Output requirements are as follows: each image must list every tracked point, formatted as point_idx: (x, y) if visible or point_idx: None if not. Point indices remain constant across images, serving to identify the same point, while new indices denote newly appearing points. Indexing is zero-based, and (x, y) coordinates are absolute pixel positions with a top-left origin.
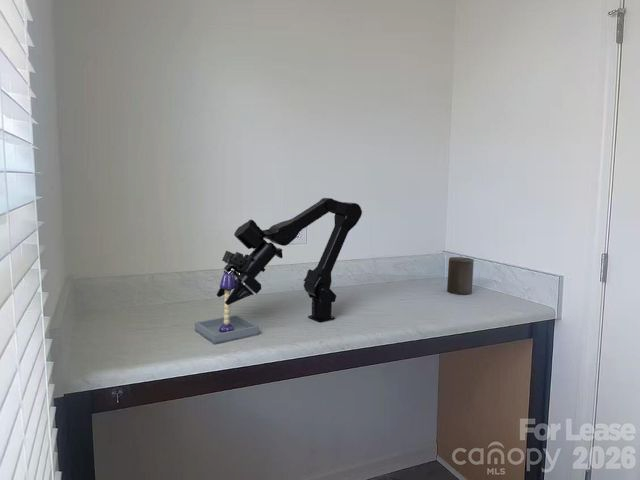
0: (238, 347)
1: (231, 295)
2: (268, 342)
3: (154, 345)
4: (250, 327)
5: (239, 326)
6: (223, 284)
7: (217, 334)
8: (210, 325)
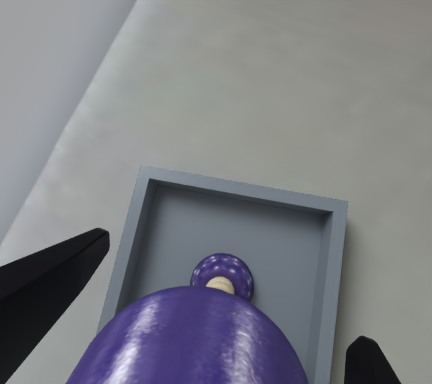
0: (68, 216)
1: (11, 264)
2: None
3: (287, 40)
4: None
5: None
6: (148, 312)
7: (140, 179)
8: (319, 270)
